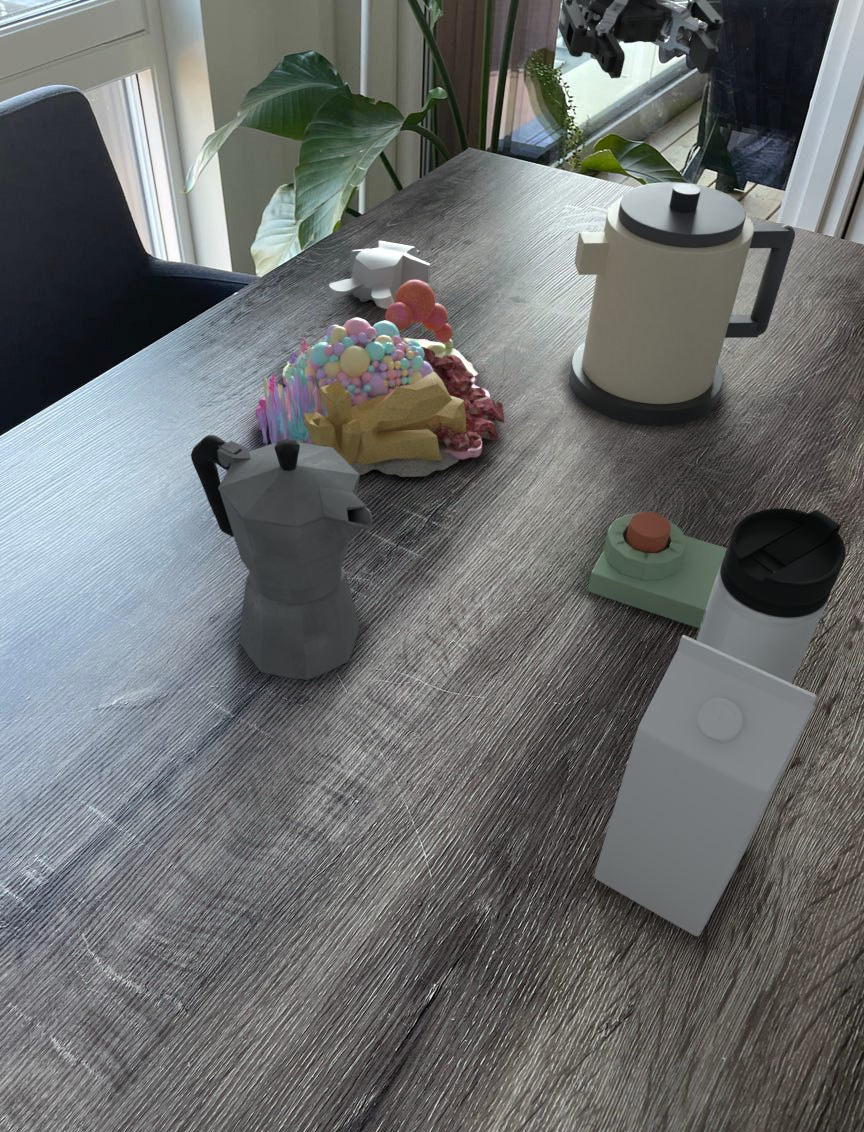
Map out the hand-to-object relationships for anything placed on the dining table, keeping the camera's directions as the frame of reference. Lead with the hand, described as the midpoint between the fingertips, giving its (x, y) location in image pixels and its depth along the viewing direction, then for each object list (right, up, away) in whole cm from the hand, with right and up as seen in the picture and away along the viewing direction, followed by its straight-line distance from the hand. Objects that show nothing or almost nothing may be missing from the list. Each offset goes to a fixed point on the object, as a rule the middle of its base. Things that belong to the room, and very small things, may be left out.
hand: (664, 65), depth 92 cm
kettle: (+2, -25, +13) cm, 28 cm away
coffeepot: (-32, -51, -12) cm, 61 cm away
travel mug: (-2, -59, -20) cm, 63 cm away
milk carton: (-7, -66, -26) cm, 71 cm away
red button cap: (-4, -43, -10) cm, 44 cm away
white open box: (-25, -12, +25) cm, 38 cm away
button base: (-1, -47, -8) cm, 48 cm away
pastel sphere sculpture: (-26, -29, +9) cm, 40 cm away
